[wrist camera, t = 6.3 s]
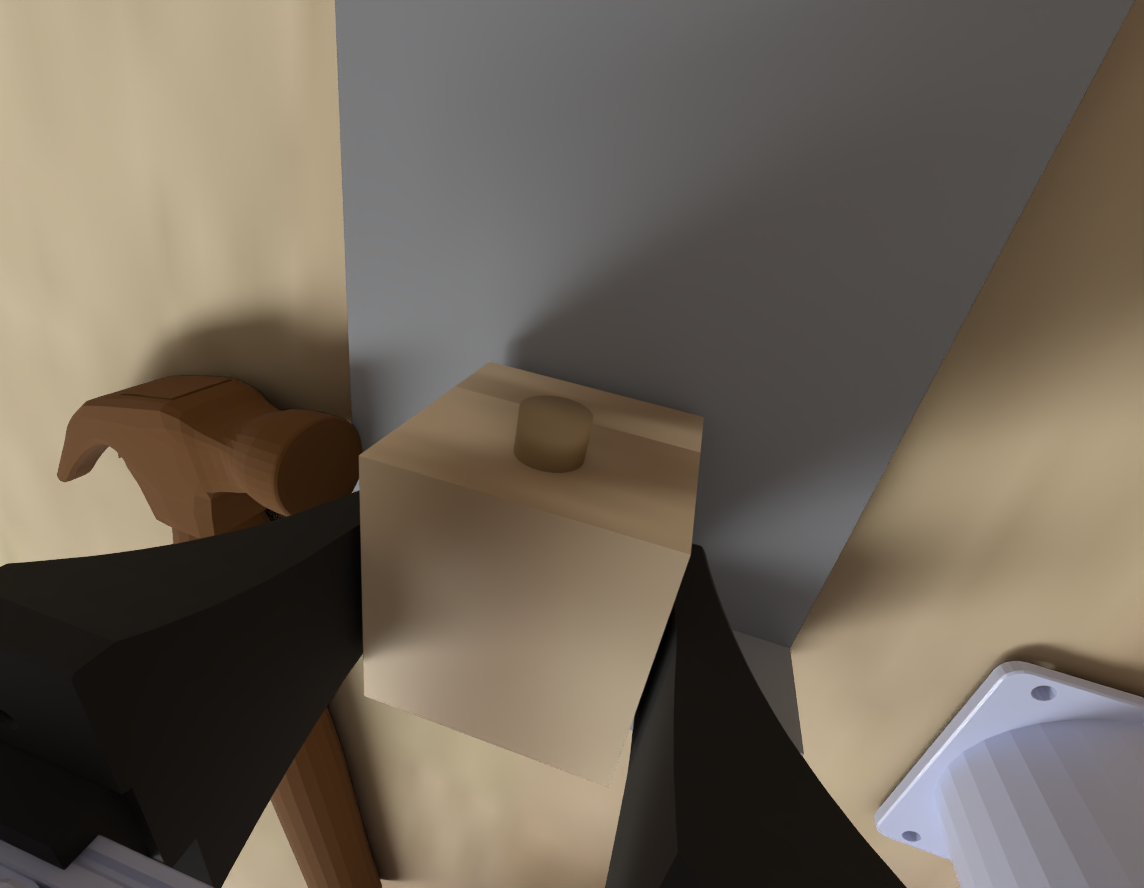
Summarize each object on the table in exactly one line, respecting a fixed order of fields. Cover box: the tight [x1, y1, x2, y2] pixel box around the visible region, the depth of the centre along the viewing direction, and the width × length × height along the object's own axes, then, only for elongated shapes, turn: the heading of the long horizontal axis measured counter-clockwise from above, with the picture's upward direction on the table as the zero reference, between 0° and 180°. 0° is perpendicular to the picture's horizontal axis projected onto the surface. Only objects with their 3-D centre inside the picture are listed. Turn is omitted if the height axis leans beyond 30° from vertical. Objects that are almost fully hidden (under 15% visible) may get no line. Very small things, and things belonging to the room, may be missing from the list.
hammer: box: [57, 375, 382, 888], centre depth 22 cm, size 12×3×30 cm
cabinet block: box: [359, 362, 704, 788], centre depth 11 cm, size 5×6×5 cm
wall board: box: [335, 0, 1135, 756], centre depth 11 cm, size 13×18×4 cm
